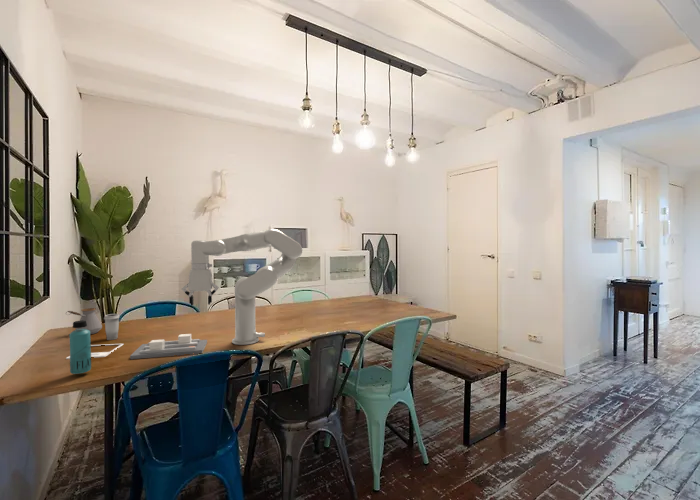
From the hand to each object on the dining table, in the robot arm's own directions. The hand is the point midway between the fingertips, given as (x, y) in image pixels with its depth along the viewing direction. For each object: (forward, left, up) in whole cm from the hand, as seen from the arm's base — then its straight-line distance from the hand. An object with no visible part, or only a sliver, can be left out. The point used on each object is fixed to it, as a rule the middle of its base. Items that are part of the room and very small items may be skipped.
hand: (200, 304), depth 164 cm
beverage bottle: (+38, +26, -20) cm, 50 cm away
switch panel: (+12, +4, -20) cm, 23 cm away
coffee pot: (+62, -36, -20) cm, 74 cm away
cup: (+45, -25, -20) cm, 55 cm away
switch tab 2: (+7, 0, -18) cm, 19 cm away
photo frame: (+44, -4, -20) cm, 49 cm away
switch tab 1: (+17, +7, -18) cm, 26 cm away
